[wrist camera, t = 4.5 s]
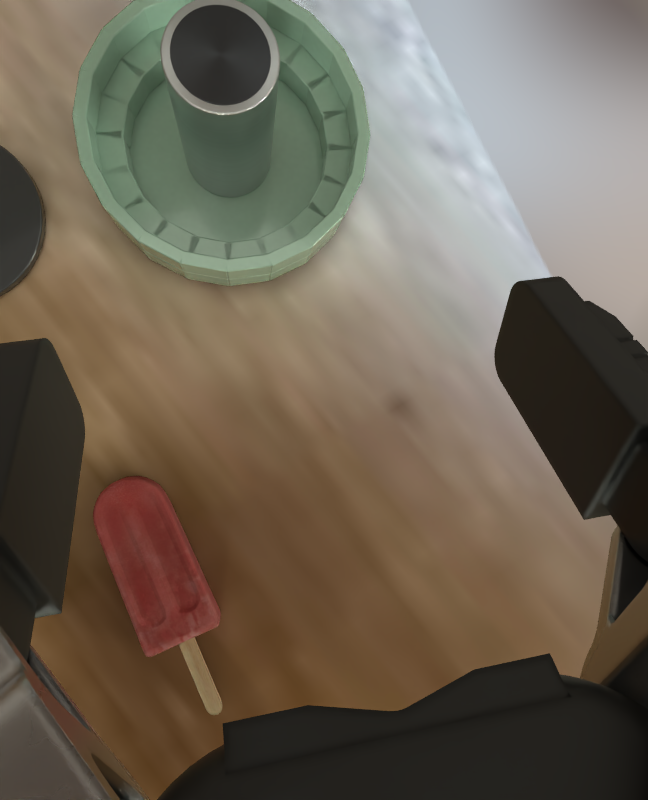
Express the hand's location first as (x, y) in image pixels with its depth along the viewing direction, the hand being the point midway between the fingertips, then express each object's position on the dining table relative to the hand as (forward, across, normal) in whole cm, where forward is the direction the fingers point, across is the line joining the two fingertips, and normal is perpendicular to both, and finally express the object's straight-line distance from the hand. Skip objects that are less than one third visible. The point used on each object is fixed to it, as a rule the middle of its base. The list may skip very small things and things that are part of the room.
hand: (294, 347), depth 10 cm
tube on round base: (+29, 0, +5) cm, 29 cm away
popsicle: (+10, +7, +26) cm, 29 cm away
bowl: (+27, 0, +8) cm, 28 cm away
